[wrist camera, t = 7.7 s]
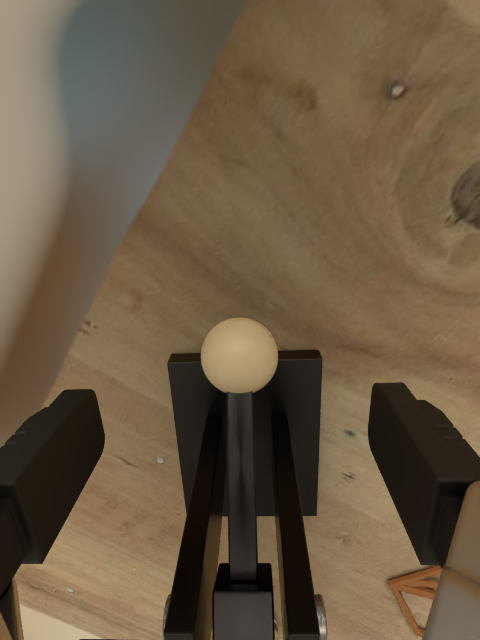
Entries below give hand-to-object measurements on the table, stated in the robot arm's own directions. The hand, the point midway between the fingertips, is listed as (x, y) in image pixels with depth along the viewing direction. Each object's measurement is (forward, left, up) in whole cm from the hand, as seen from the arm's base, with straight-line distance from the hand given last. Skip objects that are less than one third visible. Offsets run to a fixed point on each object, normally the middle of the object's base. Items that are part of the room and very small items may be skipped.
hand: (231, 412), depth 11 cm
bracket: (+9, 0, -11) cm, 15 cm away
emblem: (+25, +16, -11) cm, 32 cm away
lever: (+6, 0, -4) cm, 7 cm away
